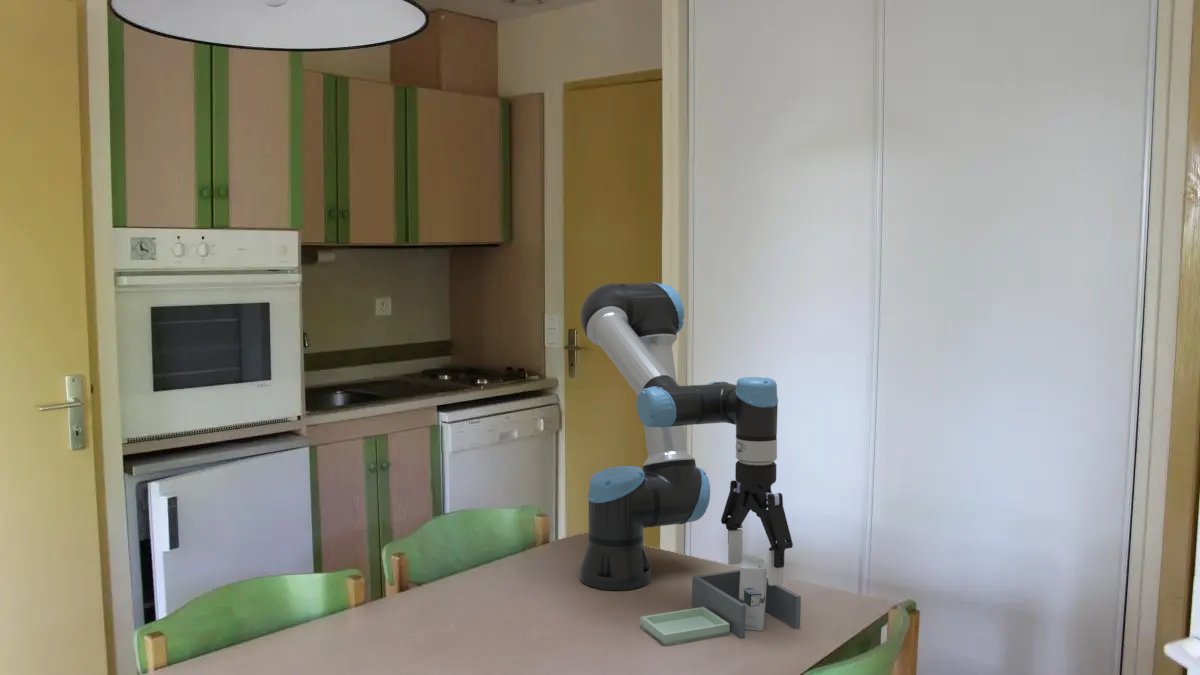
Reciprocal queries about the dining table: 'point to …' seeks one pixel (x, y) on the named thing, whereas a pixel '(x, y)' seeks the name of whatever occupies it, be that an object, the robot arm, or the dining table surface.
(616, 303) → the robot arm
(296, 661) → the dining table surface
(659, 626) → the tray
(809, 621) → the dining table surface
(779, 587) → the printer bay
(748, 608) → the ink box
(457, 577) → the dining table surface
